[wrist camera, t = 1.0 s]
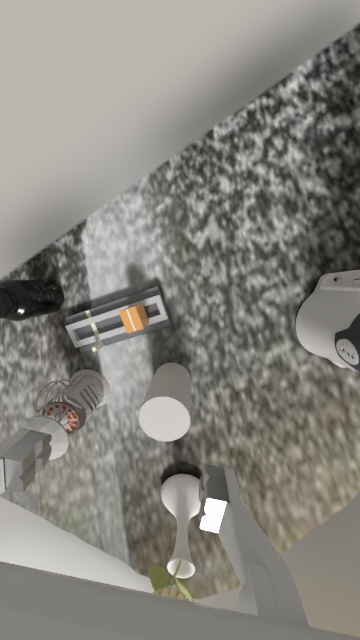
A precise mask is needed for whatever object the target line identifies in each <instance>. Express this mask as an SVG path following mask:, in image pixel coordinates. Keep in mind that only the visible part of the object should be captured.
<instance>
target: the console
mask: <svg viewBox="0 0 360 640" xmlns="http://www.w3.org/2000/svg"><path fill="white" fill-rule="evenodd" d="M140 303H142V304H143V307H144V309H145V312H146V314H147V317H148V320H149V324H148V325H147V326H146V327H145V328H144V329H141V330H138V331H135V332H131V333H128V334H127V331H126V329H125V326H124V324H123V321H122V319H121V316H120V314H119V311H121V310H123V309H126V308H128V307H131V306H134V305H137V304H140ZM65 318H66V321H67V323H68V325H67V326H65V327H66V329H67V331H68V333H69V335H70V338H71V340H72V342H73V344H74V346H75V348H77V347H79V349H80V351H81V353H84V352H87V351H90V350H92V351H93V352H94V351H97V350H98V349H100V348H101V347H103V346H106V345H110V344H113V343H116V342H119V341H123V340H126V339H129V338H132V337H136V336H139V335H142V334H145V333H149V332H152V331H155V330H158V329H161V328H165V327H168V326H171V324H172V323H171V320H170V317H169V314H168V311H167V308H166V305H165V302H164V299H163V297H162V294H161V291H160V288H159V286H157V287H154V288H151V289H148V290H145V291H142V292H139V293H136V294H133V295H130V296H127V297H124V298H121V299H118V300H115V301H112V302H110V303H107V304H104V305H101V306H98V307H95V308H92V309H89V310H86V311H83V312H80V313H77V314H74V315H71V316H68V317H65Z"/></svg>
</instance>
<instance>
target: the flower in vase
mask: <svg viewBox="0 0 360 640" xmlns="http://www.w3.org/2000/svg"><path fill="white" fill-rule="evenodd" d="M199 482H200V480H199V479H198V478H196V477H194V476H192V475H188V474H176V475H173V476H171V477H169V478H168V479H167V480H166V481H165V482H164V483H163V485H162V487H161V497H162V501H163V503H164V505H165V506H166V508H167V509H168V510H169V511H170V512H171V513H172V514H173V515H174V516H175V517H176V519H177V538H176V544H175V549H174V552H173V555H172V557H171V559H170V561H169V562H168V565H167V569H168V571H169V572H170V574H172V575H173V577H172V579H171V580H170V582H169V584H168V586H167V577H166V572H165V569H164V567H162V566H158V565H155V566H148V572H149V576H150V580H151V583H152V586H153V589H154V590H155V591H154V592H153V594H156V595H161V596H166V597H170V598H175V599H180V600H185V601H189V600H188V599H185V595H186V596H187V597H188V598H189V599H190V601H191V602H193V599H192V597H191V595H190V593H189V591H188V590H187V589H186V587H185V586H184V585H183V584H182V583H181V582H180V581H179V580H178V579H177V578H175V577H178V578H188V577H190V576H192V575H193V574H194V572H195V567H194V564H193V562H192V560H191V558H190V553H189V547H188V523H189V520H190V518H192V517H193V516H195V515H196V514H198V513H199V509H200V505H201V503H200V501H199ZM174 578H175V579H176V582H177V584H178V587H179V588H180V590H181V591H182V592H180V593H179V588H178V587H177V586H176V585H175V584H173V585H172V586H170V585H171V583H172V582H173V580H174ZM183 593H184V594H185V595H184V594H183Z"/></svg>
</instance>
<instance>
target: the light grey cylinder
mask: <svg viewBox="0 0 360 640" xmlns="http://www.w3.org/2000/svg"><path fill="white" fill-rule="evenodd" d="M190 403H191V377H190V374H189V372H188V370H187V369H186V368H185V367H184V366H182V365H180V364H178V363H166V364H163V365H161V366H160V367H159V368H158V369H157V370H156V372H155V374H154V377H153V379H152V382H151V384H150V387H149V389H148V392H147V394H146V397H145V399H144V402H143V404H142V407H141V409H140V412H139V423H140V426H141V428H142V429H143V431H144V432H145V433H146V434H147V435H148V436H150V437H151V438H153V439H156V440H159V441H174V440H177V439H179V438H181V437H182V436H183V435H184V434H185V433H186V432H187V430H188V428H189V426H190Z"/></svg>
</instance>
